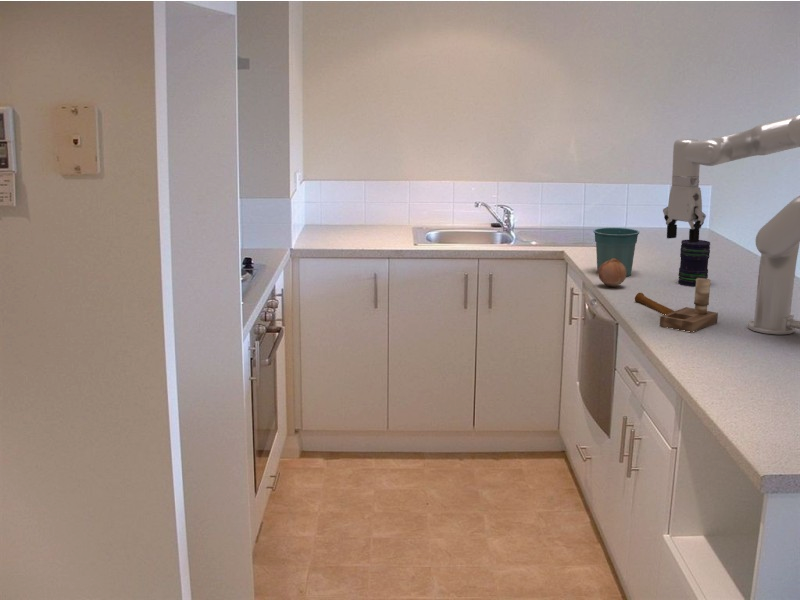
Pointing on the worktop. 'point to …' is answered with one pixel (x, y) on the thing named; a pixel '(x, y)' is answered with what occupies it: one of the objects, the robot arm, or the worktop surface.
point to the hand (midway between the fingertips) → (682, 240)
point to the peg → (702, 295)
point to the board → (688, 319)
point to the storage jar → (693, 262)
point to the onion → (612, 272)
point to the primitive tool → (652, 304)
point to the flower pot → (616, 246)
